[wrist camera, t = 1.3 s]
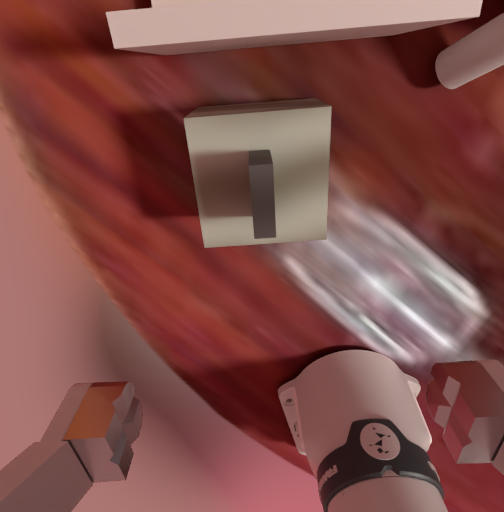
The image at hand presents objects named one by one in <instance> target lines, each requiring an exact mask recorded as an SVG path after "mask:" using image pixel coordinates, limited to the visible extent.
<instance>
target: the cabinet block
mask: <svg viewBox="0 0 504 512" xmlns="http://www.w3.org/2000/svg"><path fill="white" fill-rule="evenodd" d="M184 124H185V131H186V137H187V143H188V149H189V155H190V161H191V167H192V173H193V180H194V186H195V192H196V198H197V204H198V210H199V216H200V222H201V229H202V235H203V241H204V247H205V248H208V247H223V246H238V245H253V244H267V243H282V242H297V241H312V240H326V231H327V206H328V181H329V156H330V130H331V106H330V105H328V104H326V103H324V102H322V101H320V100H318V99H316V98H306V99H294V100H281V101H269V102H257V103H244V104H232V105H220V106H208V107H197V108H196V109H195V110H193V111H192V112H191V113H190V114H188V115H187V116H186V117H185V118H184Z"/></svg>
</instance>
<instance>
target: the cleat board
mask: <svg viewBox="0 0 504 512" xmlns="http://www.w3.org/2000/svg"><path fill="white" fill-rule="evenodd" d="M482 2H483V0H151V3H152V8H145V9H134V10H123V11H112V12H106V15H107V20H108V24H109V28H110V32H111V37H112V41H113V45H114V49H121V50H128V51H136V52H144V53H152V54H159V55H173V54H185V53H196V52H208V51H219V50H231V49H242V48H254V47H265V46H277V45H288V44H300V43H311V42H323V41H334V40H346V39H357V38H369V37H381V36H392V35H397V34H401V33H406V32H410V31H415V30H420V29H424V28H429V27H434V26H438V25H443V24H447V23H452V22H457V21H461V20H466V19H471V18H475V17H479V16H480V11H481V7H482Z"/></svg>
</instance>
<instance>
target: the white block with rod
mask: <svg viewBox="0 0 504 512" xmlns="http://www.w3.org/2000/svg"><path fill="white" fill-rule="evenodd" d="M502 65H504V13H502V14H501V15H499V16H497V17H496V18H494V19H493V20H491V21H489V22H488V23H486V24H485V25H483V26H481V27H480V28H478V29H477V30H475V31H473V32H472V33H470V34H469V35H467V36H465V37H464V38H462V39H461V40H459V41H457V42H456V43H454V44H453V45H451V46H449V47H448V48H446V49H445V50H443V51H442V52H440V53H439V55H438V56H437V59H436V64H435V68H436V74H437V77H438V79H439V81H440V82H441V84H442V85H443V86H445V87H446V88H448V89H455V88H457V87H459V86H461V85H463V84H465V83H467V82H469V81H471V80H473V79H475V78H477V77H479V76H481V75H484V74H486V73H488V72H490V71H492V70H494V69H496V68H498V67H500V66H502Z"/></svg>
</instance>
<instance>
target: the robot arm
mask: <svg viewBox="0 0 504 512" xmlns="http://www.w3.org/2000/svg"><path fill="white" fill-rule="evenodd" d="M431 375H432V376H433V378H434V379H433V380H432V381H431V382H430V383H428V384H427V388H426V402H427V406H428V409H429V412H430V414H431V416H432V418H433V420H434V421H435V422H436V423H438V424H439V425H440V426H442V427H443V428H444V433H443V439H444V441H445V443H446V444H447V446H448V448H449V450H450V452H451V454H452V456H453V458H454V460H455V461H456V463H492V465H493V466H494V467H495V468H496V469H497V470H499V471H500V472H501V473H502V474H503V475H504V366H503V365H502V364H501V363H500V362H499V361H497V360H495V359H494V360H477V361H458V362H444V363H436V364H434V365H433V366H432V370H431ZM420 389H421V388H420V385H419V382H418V380H417V379H415V378H414V377H412V376H409V375H407V374H405V373H403V372H402V371H401V370H400V369H399V368H398V366H397V365H396V364H395V363H394V362H393V361H392V360H391V359H389V358H388V357H386V356H384V355H382V354H379V353H376V352H372V351H366V350H346V351H340V352H335V353H332V354H329V355H326V356H324V357H321V358H319V359H317V360H316V361H314V362H312V363H311V364H310V365H308V366H307V367H306V368H305V369H304V370H303V371H302V372H301V373H300V374H299V375H298V376H297V377H296V378H295V379H293V380H291V381H289V382H287V383H285V384H284V385H282V386H281V387H279V389H278V396H279V399H280V402H281V405H282V408H283V411H284V413H285V416H286V419H287V422H288V425H289V427H290V430H291V433H292V436H293V439H294V441H295V444H296V447H297V450H298V452H299V453H300V454H303V455H306V456H307V459H308V461H309V464H310V466H311V469H312V471H313V474H314V476H315V478H316V479H317V481H318V488H319V489H318V490H319V496H320V500H321V503H322V505H323V510H324V512H448V510H447V508H446V506H445V504H444V502H443V499H444V491H443V489H442V486H441V484H440V479H439V476H438V474H437V471H436V469H435V467H434V466H433V465H432V463H431V461H430V458H429V456H428V454H427V453H426V452H427V451H428V449H429V446H430V444H431V443H432V438H431V435H430V432H429V430H428V427H427V425H426V422H425V420H424V417H423V415H422V412H421V410H420V407H419V405H418V403H417V400H416V397H417V395H418V393H419V392H420ZM134 393H135V387H134V385H133V382H101V383H78V384H74V385H73V386H72V387H71V388H70V389H69V391H68V393H67V395H66V396H65V398H64V400H63V402H62V403H61V405H60V407H59V409H58V411H57V412H56V414H55V416H54V418H53V420H52V421H51V423H50V425H49V427H48V429H47V430H46V432H45V434H44V436H43V438H42V440H41V441H40V442H36V443H33V444H32V445H31V446H30V447H28V448H27V449H26V450H25V451H23V452H22V453H21V454H20V455H19V456H17V457H16V458H15V459H14V460H13V461H11V462H10V463H9V464H8V465H7V466H5V467H4V468H3V469H2V470H1V471H0V512H71V511H72V510H73V509H74V507H75V506H76V505H77V504H78V502H79V501H80V500H81V499H82V498H83V496H84V495H85V494H86V493H87V491H88V490H89V489H90V488H91V487H92V485H93V484H92V483H95V482H107V481H120V480H126V477H127V474H128V471H129V467H130V464H131V460H132V457H133V451H132V448H131V444H132V443H133V442H134V441H135V440H136V439H137V438H138V437H139V434H140V430H141V426H142V416H143V413H142V406H141V403H140V401H139V400H138V399H136V398H135V397H134Z"/></svg>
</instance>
